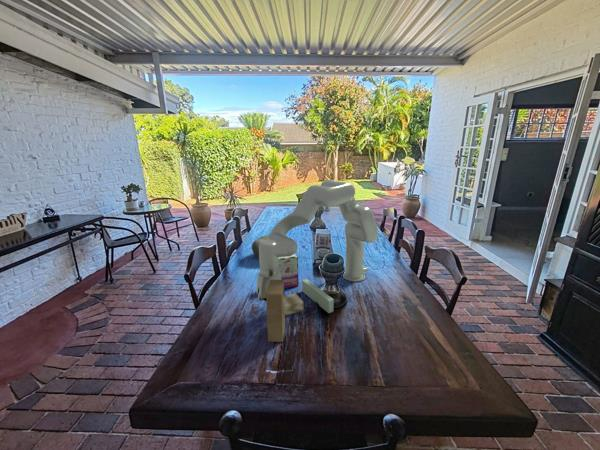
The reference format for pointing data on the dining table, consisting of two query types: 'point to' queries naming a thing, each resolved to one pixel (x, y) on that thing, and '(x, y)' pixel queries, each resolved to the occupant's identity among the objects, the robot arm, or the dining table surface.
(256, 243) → the gourd
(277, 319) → the decorative block
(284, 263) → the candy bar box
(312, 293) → the sage board
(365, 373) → the dining table surface
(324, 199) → the robot arm
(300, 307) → the ash block
